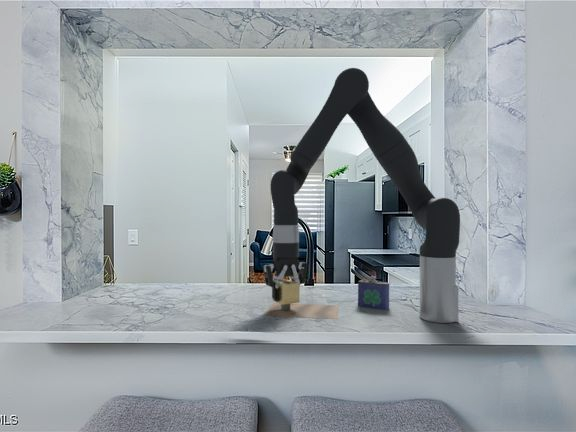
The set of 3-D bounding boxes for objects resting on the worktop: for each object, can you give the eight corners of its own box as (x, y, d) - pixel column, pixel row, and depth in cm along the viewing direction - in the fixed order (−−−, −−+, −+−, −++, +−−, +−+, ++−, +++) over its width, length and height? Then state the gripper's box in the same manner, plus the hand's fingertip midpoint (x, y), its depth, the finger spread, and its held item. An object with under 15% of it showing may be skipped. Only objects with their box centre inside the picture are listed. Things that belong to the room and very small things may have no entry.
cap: (299, 302, 99) (299, 281, 99) (282, 304, 96) (282, 283, 96) (289, 298, 104) (289, 278, 104) (272, 300, 101) (272, 280, 101)
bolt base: (338, 310, 105) (338, 292, 105) (338, 324, 91) (338, 303, 91) (273, 307, 108) (273, 290, 108) (263, 321, 94) (263, 300, 94)
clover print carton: (390, 313, 102) (390, 276, 102) (388, 315, 100) (387, 277, 100) (359, 309, 106) (359, 274, 106) (356, 311, 104) (356, 275, 104)
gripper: (269, 242, 93) (269, 305, 93) (313, 240, 101) (314, 299, 101) (257, 241, 100) (257, 300, 100) (299, 239, 107) (299, 294, 107)
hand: (285, 299), depth 100 cm, fingers closed on cap, 5 cm apart
